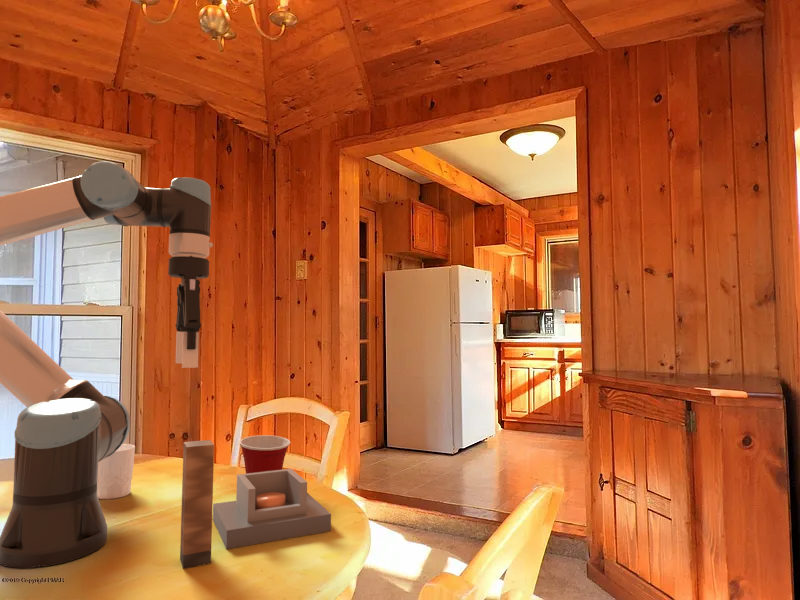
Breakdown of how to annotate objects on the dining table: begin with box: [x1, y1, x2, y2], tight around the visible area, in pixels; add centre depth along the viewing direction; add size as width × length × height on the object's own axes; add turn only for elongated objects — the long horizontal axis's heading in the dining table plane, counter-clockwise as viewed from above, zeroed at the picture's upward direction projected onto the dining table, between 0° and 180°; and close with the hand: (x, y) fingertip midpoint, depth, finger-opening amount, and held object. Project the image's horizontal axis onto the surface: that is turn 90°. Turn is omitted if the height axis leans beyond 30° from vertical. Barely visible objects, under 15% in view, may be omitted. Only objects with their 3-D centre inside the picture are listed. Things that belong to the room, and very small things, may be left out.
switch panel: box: [212, 468, 332, 550], centre depth 99 cm, size 18×15×8 cm
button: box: [256, 492, 285, 510], centre depth 99 cm, size 5×5×2 cm
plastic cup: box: [239, 434, 291, 474], centre depth 116 cm, size 11×11×12 cm
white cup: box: [97, 443, 136, 500], centre depth 116 cm, size 8×8×10 cm
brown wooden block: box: [179, 439, 215, 570], centre depth 84 cm, size 4×4×18 cm
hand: (186, 365), depth 105 cm, fingers open, 13 cm apart
